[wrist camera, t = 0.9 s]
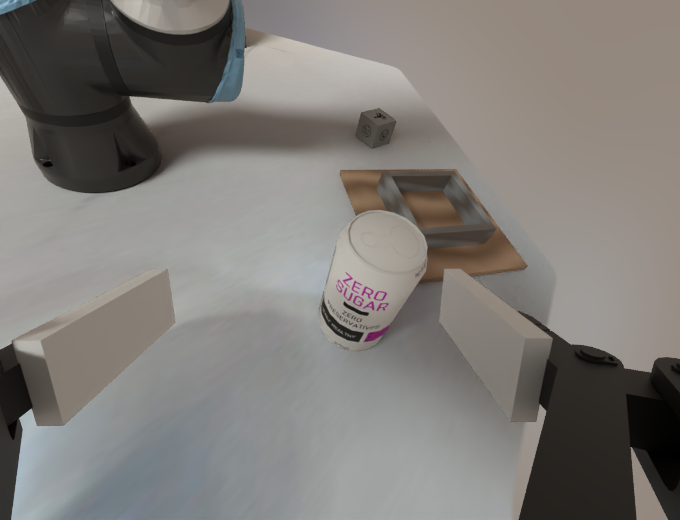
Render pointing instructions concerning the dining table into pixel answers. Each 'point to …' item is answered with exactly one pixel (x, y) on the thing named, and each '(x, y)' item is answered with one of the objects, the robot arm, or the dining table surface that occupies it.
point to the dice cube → (375, 128)
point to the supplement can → (370, 278)
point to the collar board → (437, 218)
